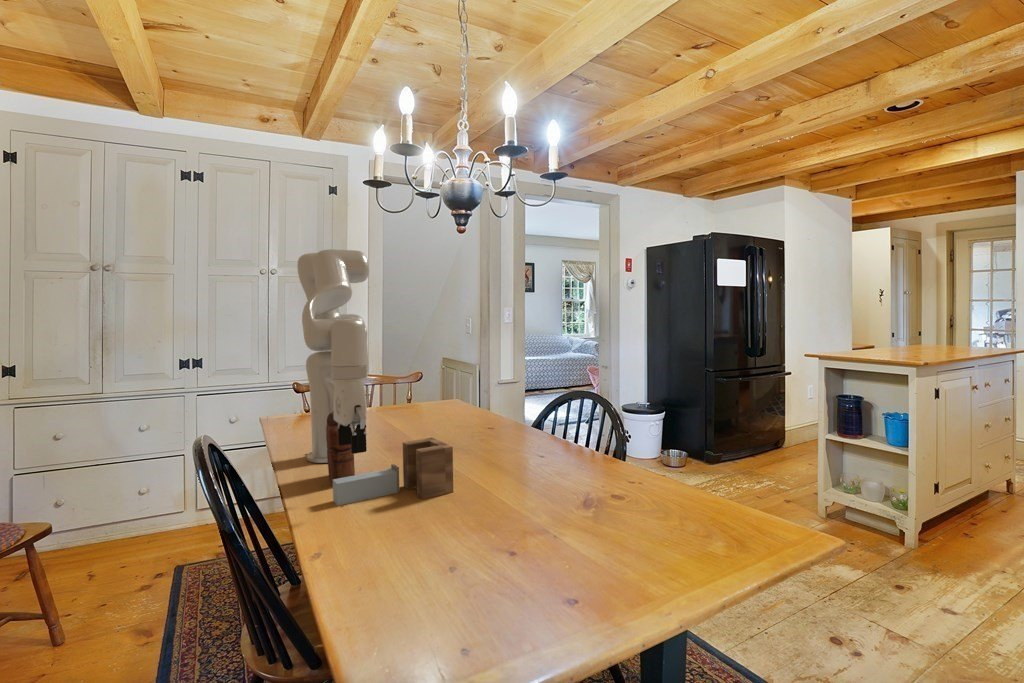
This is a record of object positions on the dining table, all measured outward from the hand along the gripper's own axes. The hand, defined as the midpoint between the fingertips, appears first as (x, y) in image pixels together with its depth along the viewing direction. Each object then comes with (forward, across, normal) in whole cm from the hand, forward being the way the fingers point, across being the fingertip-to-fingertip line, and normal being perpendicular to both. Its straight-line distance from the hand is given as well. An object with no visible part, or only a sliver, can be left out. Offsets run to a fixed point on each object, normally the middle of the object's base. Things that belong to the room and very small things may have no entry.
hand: (352, 448), depth 117 cm
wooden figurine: (+12, -17, +2) cm, 21 cm away
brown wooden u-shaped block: (+12, +3, +17) cm, 21 cm away
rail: (+12, -1, +3) cm, 13 cm away
